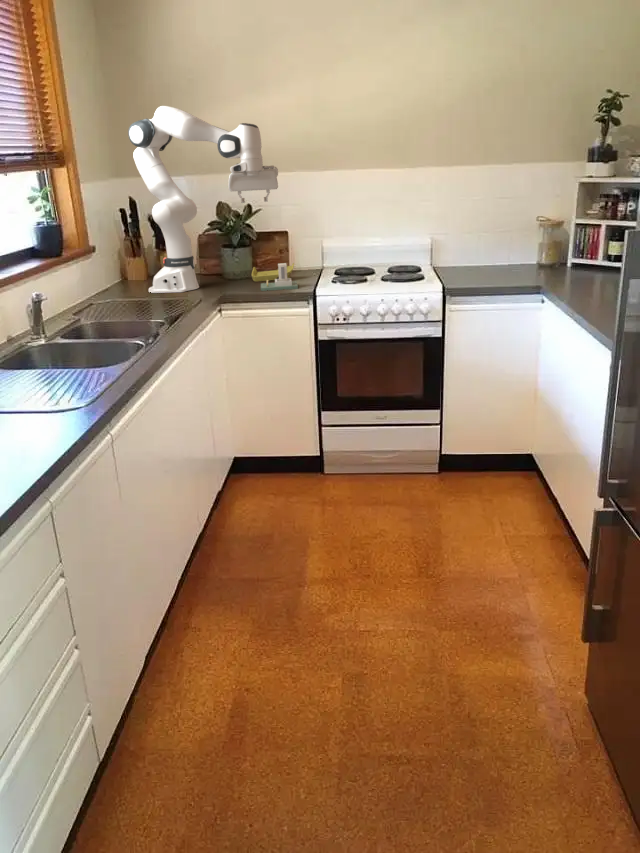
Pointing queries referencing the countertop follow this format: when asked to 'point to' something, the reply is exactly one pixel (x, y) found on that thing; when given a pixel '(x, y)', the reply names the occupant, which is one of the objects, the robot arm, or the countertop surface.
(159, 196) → the robot arm
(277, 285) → the board
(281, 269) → the plug
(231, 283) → the countertop surface
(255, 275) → the plastic component
